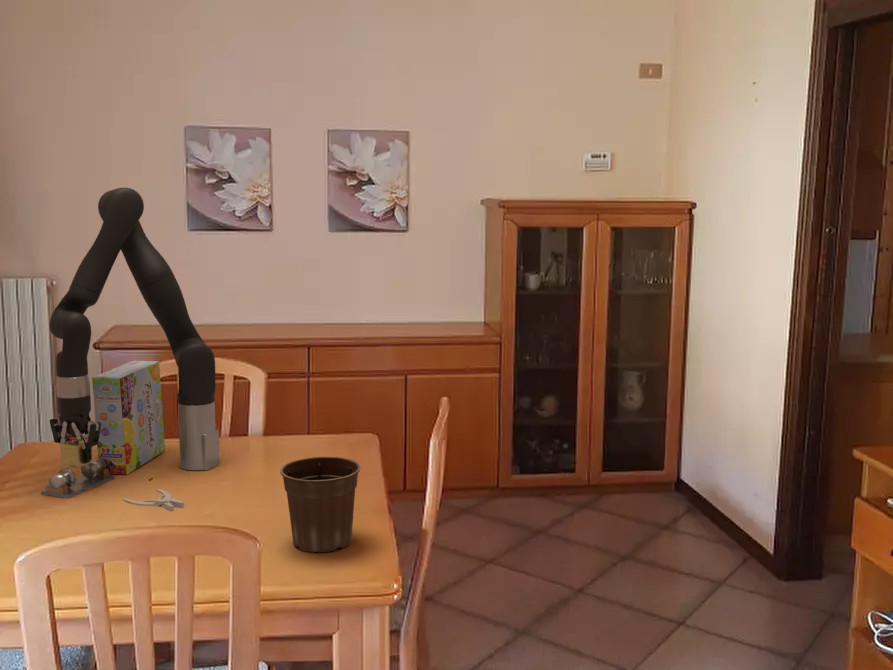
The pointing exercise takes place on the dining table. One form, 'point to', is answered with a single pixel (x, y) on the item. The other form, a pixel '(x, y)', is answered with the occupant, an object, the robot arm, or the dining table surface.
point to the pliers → (159, 501)
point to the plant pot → (321, 501)
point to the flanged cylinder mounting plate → (78, 480)
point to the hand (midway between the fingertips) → (77, 461)
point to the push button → (72, 453)
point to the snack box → (129, 415)
